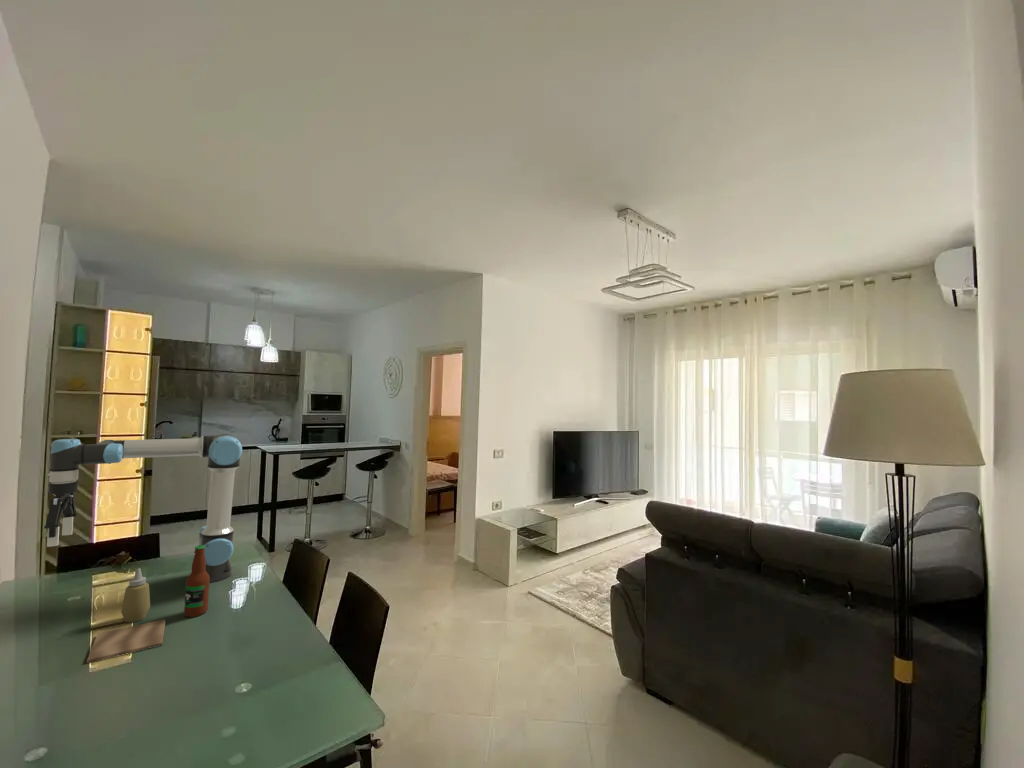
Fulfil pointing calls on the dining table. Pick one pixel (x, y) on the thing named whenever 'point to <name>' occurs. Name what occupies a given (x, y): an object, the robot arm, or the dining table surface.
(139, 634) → the walnut board
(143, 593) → the squeeze bottle
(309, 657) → the dining table surface
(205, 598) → the bottle
